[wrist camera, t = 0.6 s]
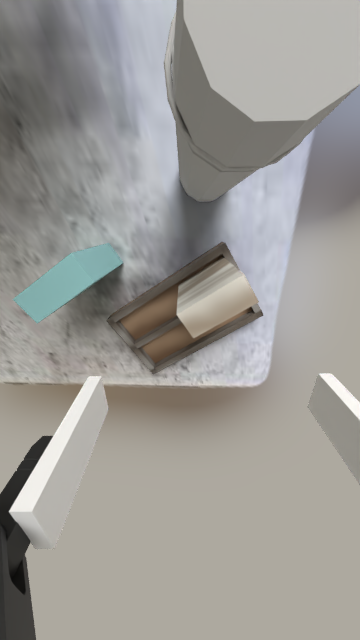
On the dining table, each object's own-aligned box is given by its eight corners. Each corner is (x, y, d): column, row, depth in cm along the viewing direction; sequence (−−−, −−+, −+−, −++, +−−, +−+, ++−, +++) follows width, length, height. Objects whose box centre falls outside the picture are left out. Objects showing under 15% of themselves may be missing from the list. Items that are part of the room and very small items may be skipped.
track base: (111, 314, 37) (77, 357, 25) (222, 241, 32) (245, 252, 20) (154, 366, 42) (143, 422, 30) (258, 309, 36) (295, 350, 25)
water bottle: (224, 210, 30) (351, 173, 7) (170, 195, 30) (129, 101, 7) (248, 130, 26) (650, -435, 4) (188, 110, 26) (226, -738, 3)
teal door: (66, 275, 34) (12, 299, 23) (108, 243, 32) (70, 253, 21) (81, 292, 36) (37, 323, 25) (123, 262, 33) (94, 281, 23)
